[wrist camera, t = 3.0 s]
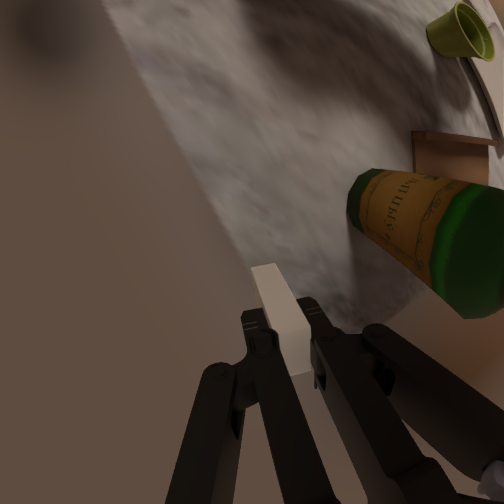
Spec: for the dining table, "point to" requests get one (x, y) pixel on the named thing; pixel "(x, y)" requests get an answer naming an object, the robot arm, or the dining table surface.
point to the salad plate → (493, 77)
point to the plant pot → (461, 34)
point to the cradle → (452, 156)
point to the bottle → (437, 233)
